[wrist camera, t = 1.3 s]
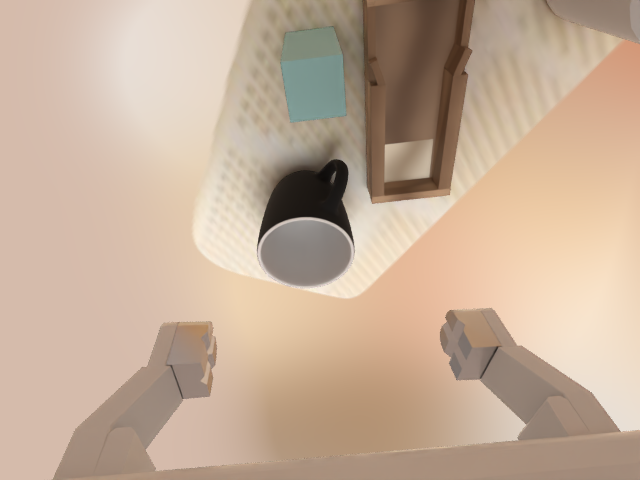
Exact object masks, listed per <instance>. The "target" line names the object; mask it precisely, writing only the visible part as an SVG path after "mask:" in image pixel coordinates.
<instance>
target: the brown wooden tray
mask: <svg viewBox="0 0 640 480" xmlns="http://www.w3.org/2000/svg"><path fill="white" fill-rule="evenodd" d="M474 3H475V0H363V22H364V64H365V106H366V149H367V188H368V191H369V194H370V198H371V201H372V204H374V203H383V202H392V201H401V200H410V199H419V198H428V197H437V196H446V195H450V190H451V188H450V186H451V180H452V174H453V167H454V161H455V155H456V148H457V142H458V135H459V129H460V123H461V116H462V110H463V104H464V97H465V91H466V84H467V78H468V74H467V73H466V72H465V71H464V70H465V65H466V63H467V61H468V59H469V57H470V55H471V53H472V50H471V49H469V48H468V43H469V37H470V30H471V23H472V17H473V10H474Z"/></svg>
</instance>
